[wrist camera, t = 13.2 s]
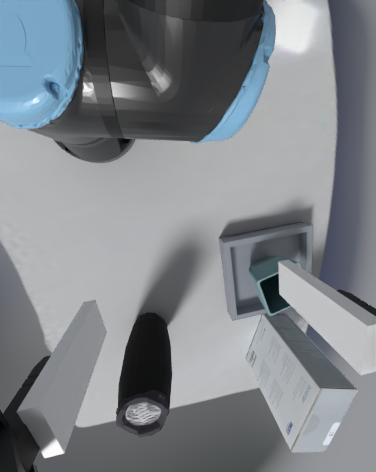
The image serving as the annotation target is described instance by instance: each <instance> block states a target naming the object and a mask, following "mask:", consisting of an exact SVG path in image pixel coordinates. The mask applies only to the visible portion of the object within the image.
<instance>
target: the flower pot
mask: <svg viewBox="0 0 376 472" xmlns="http://www.w3.org/2000/svg"><path fill="white" fill-rule="evenodd" d="M284 260H290V261H291V262H293V263H294V264H296V265H297V266H299V267H301V264H300V263H299V262H296V261H294V260H292V259H289V258H286V257H283V256H272V257H268V258H266V259H264V260H262V261H259V262H257V263H255V264H253V265H251V266H250V267H249V273H250V275H251V278H252V281H253V283H254V286H255V289H256V291H257V294H258V297H259V299H260V301H261V303H262V304H263V306H264V308H265V309H266V311H267V313H268V314H269V316H272V315H275V314H277V313H279V312H281V311H283V310H285V309H288V308H290V307H292V306H291V305H290V304H289V303H288V302H287V301H286V300H285V299H284V298H283V297H282V296H281V295H280V294H279V265H278V262H279V261H284Z"/></svg>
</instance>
